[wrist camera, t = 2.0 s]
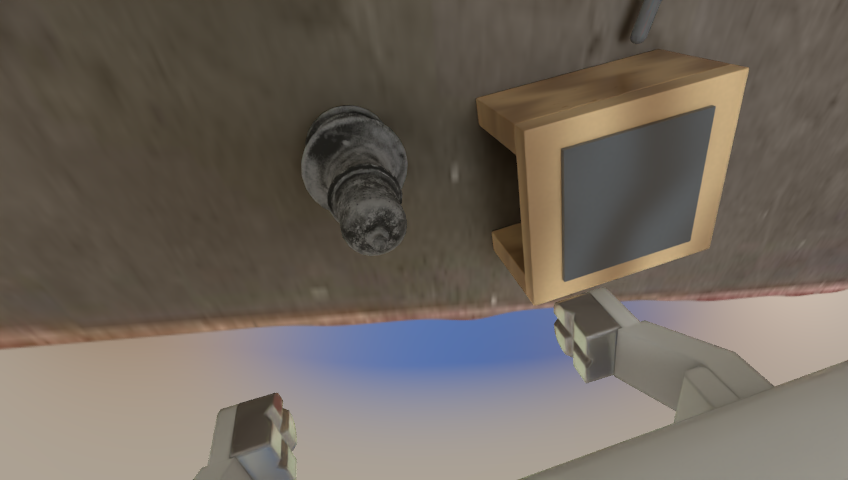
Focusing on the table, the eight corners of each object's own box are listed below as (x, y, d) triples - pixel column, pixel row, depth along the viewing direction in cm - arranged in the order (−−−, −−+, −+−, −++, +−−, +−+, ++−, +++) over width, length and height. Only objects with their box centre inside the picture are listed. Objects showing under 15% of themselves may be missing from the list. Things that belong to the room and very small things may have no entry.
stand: (493, 250, 34) (536, 309, 28) (475, 98, 28) (526, 132, 22) (642, 203, 36) (713, 250, 30) (658, 48, 29) (754, 68, 23)
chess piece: (386, 195, 30) (434, 308, 20) (296, 186, 28) (298, 305, 18) (403, 109, 27) (469, 188, 17) (304, 91, 25) (313, 170, 15)
